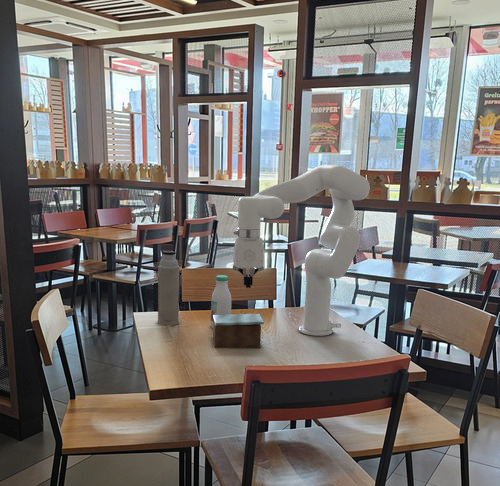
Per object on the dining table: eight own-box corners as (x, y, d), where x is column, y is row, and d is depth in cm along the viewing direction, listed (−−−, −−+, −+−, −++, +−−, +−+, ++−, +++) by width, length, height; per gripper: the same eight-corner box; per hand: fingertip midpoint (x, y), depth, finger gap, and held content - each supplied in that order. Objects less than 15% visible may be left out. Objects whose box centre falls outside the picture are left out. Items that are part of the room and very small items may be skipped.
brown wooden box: (255, 338, 207) (256, 317, 206) (260, 347, 196) (261, 325, 195) (212, 338, 205) (213, 317, 204) (214, 347, 194) (215, 325, 193)
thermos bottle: (155, 324, 220) (155, 252, 213) (161, 319, 227) (161, 249, 221) (175, 326, 219) (176, 253, 212) (180, 321, 226) (181, 250, 220)
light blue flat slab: (259, 315, 206) (259, 313, 205) (263, 324, 195) (263, 321, 194) (213, 317, 204) (213, 314, 203) (215, 325, 193) (215, 323, 193)
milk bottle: (231, 325, 223) (233, 274, 219) (229, 330, 216) (231, 278, 211) (212, 324, 224) (213, 273, 219) (209, 329, 216) (210, 277, 212)
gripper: (227, 235, 188) (227, 289, 193) (272, 235, 190) (271, 289, 194) (225, 232, 196) (225, 285, 200) (269, 232, 197) (267, 284, 202)
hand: (247, 287), depth 197 cm, fingers closed
